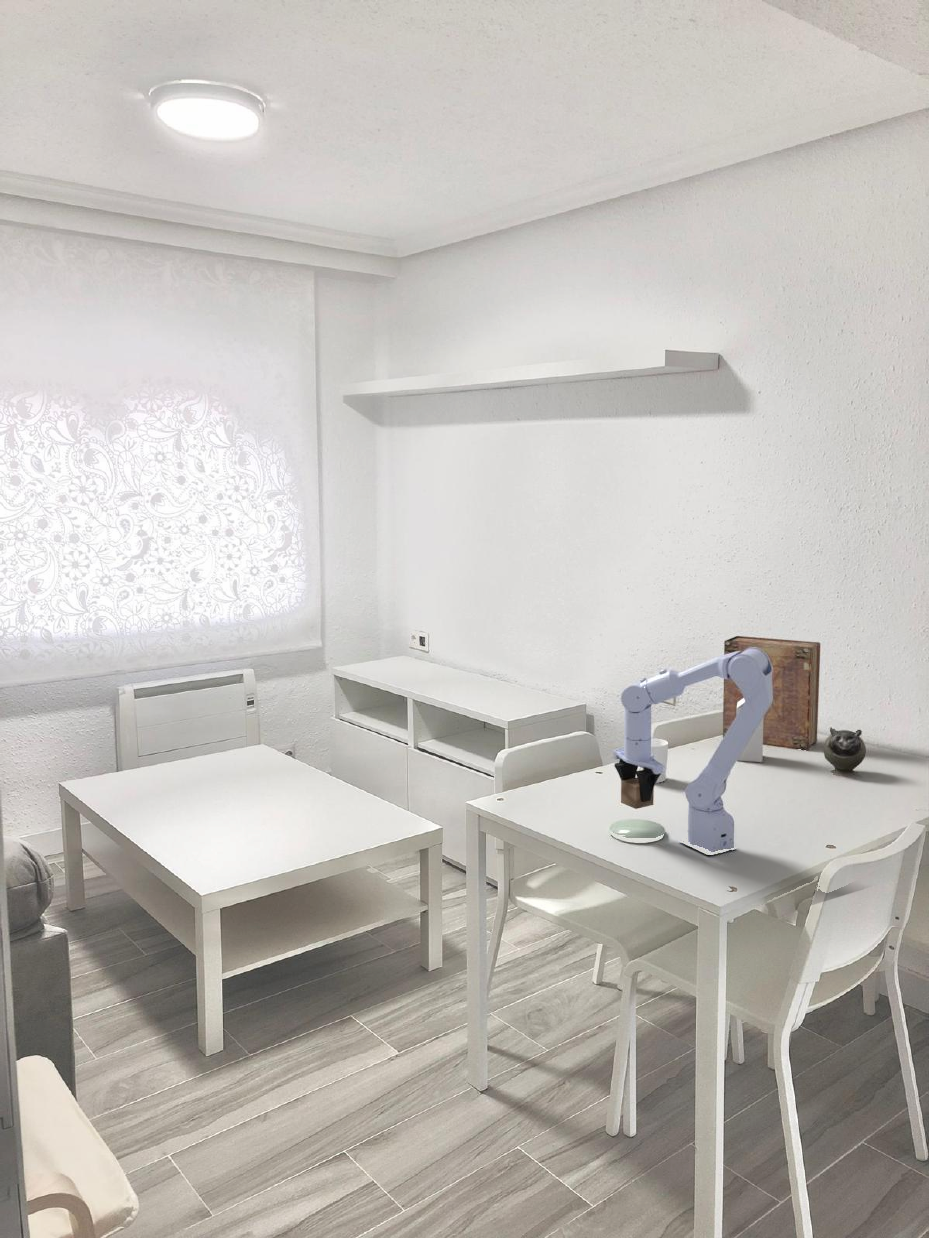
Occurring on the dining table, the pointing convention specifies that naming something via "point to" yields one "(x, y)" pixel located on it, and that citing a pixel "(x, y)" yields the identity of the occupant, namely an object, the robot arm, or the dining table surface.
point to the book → (782, 691)
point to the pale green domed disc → (637, 828)
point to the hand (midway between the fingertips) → (637, 797)
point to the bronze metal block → (633, 794)
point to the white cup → (659, 755)
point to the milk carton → (752, 742)
